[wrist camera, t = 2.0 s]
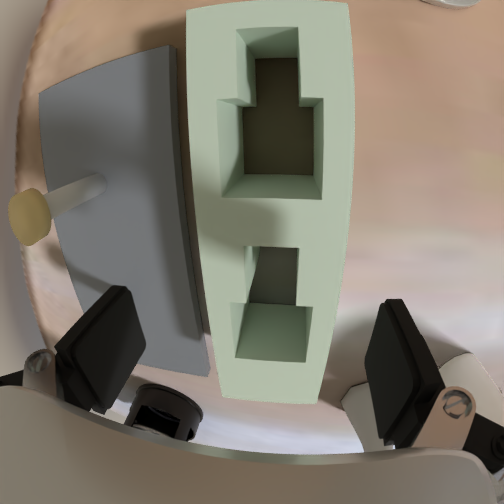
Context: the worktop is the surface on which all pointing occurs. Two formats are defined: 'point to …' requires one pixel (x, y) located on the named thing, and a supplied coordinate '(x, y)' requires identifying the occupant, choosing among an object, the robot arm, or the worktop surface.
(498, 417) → the foam cup
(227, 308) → the pale green slotted holder
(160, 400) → the french press
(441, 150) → the worktop surface
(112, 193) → the board
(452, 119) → the worktop surface
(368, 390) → the flask
